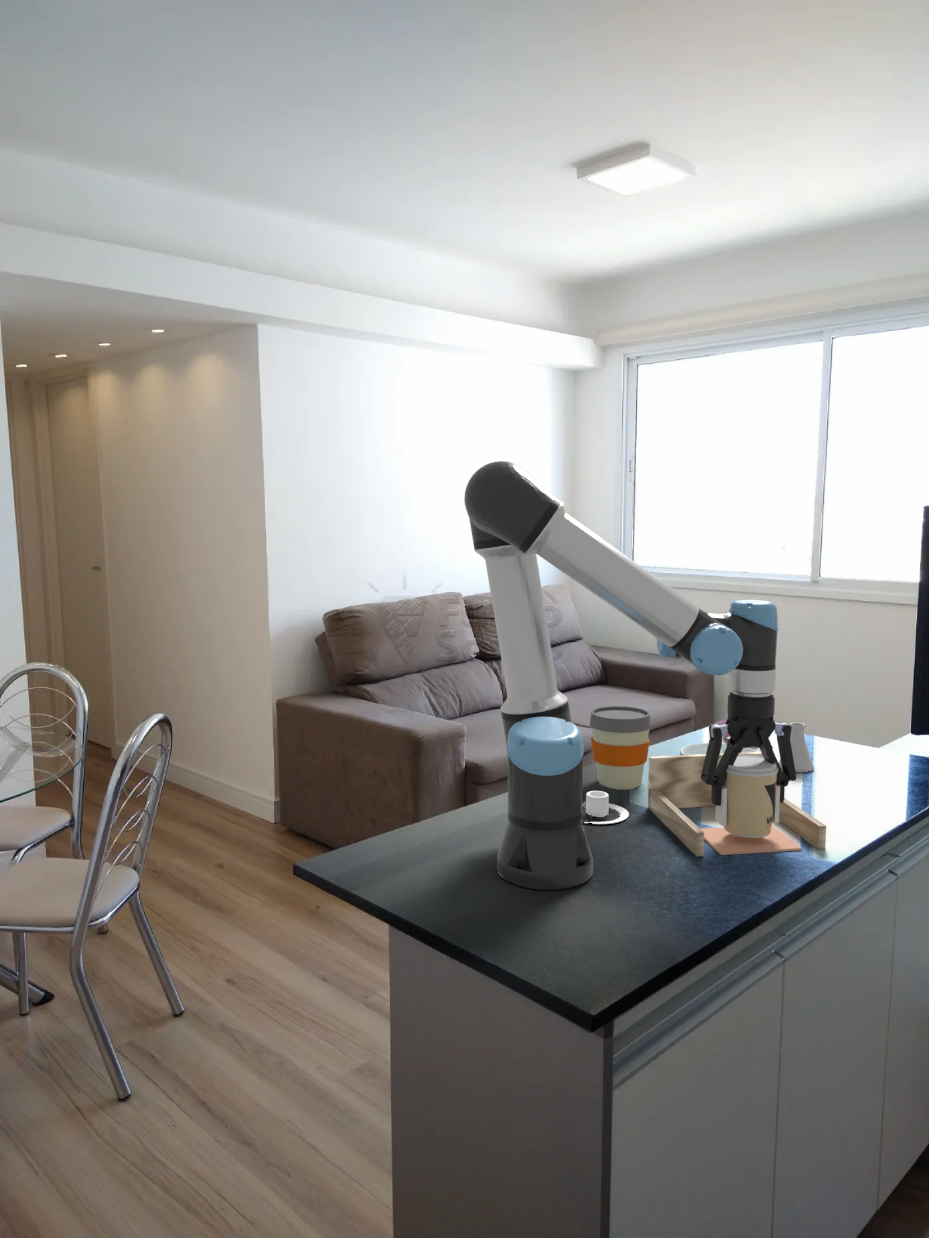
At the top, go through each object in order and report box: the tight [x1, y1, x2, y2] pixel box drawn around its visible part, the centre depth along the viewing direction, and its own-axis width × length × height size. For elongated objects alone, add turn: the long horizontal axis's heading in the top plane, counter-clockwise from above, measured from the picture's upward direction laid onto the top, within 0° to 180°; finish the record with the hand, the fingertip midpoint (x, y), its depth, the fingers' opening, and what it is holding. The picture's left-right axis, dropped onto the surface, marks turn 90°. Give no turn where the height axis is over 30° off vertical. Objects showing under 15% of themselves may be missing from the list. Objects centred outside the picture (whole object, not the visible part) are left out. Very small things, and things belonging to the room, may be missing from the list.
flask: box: [778, 722, 815, 773], centre depth 190 cm, size 7×7×10 cm
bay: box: [647, 751, 827, 857], centre depth 156 cm, size 22×24×10 cm
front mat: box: [700, 825, 803, 856], centre depth 150 cm, size 14×11×1 cm
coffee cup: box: [723, 755, 778, 838], centre depth 149 cm, size 9×9×12 cm
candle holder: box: [583, 790, 630, 825], centre depth 163 cm, size 12×12×4 cm
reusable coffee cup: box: [589, 705, 652, 790], centre depth 181 cm, size 13×13×15 cm
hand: (747, 821), depth 149 cm, fingers open, 9 cm apart
